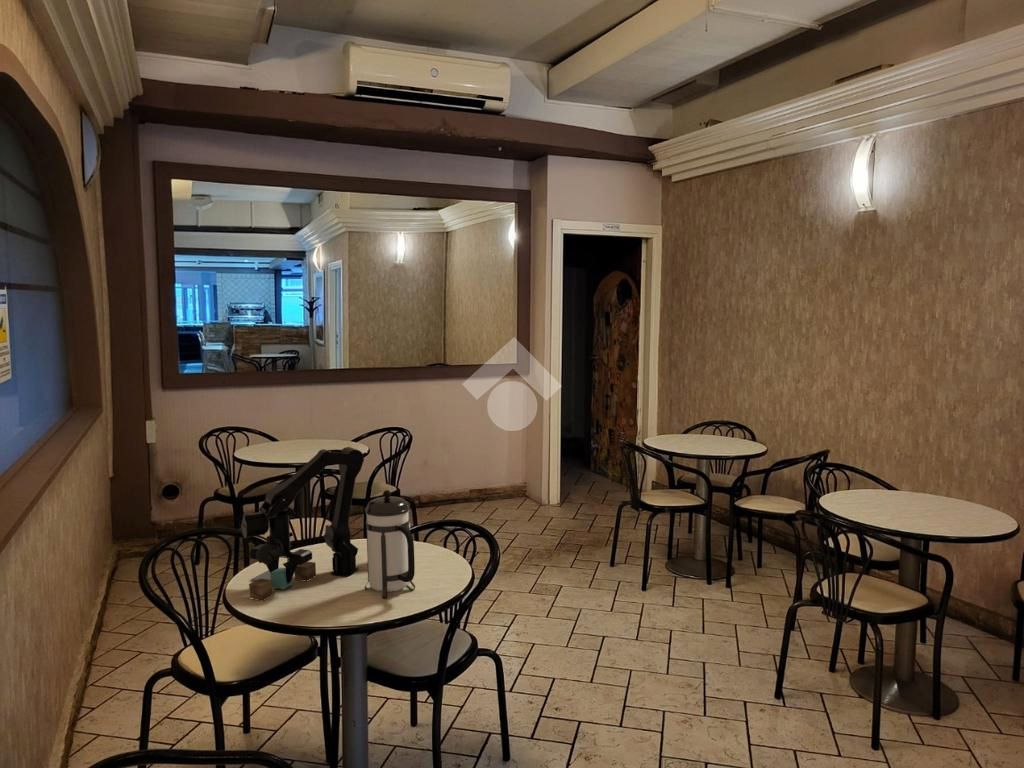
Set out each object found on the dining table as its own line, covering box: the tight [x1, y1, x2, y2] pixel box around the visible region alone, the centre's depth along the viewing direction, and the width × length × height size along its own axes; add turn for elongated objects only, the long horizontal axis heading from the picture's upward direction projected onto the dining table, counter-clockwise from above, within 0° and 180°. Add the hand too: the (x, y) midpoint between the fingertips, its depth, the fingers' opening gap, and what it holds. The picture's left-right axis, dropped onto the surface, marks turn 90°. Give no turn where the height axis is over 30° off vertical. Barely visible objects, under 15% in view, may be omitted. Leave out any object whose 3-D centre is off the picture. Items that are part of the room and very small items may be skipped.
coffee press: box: [364, 489, 416, 600], centre depth 213 cm, size 17×16×30 cm
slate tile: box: [250, 569, 271, 582], centre depth 226 cm, size 9×9×1 cm
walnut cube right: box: [294, 561, 317, 582], centre depth 225 cm, size 4×4×4 cm
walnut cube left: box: [248, 579, 274, 601], centre depth 211 cm, size 4×4×4 cm
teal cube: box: [270, 567, 294, 590], centre depth 218 cm, size 4×4×4 cm
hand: (282, 582), depth 218 cm, fingers closed on teal cube, 4 cm apart
